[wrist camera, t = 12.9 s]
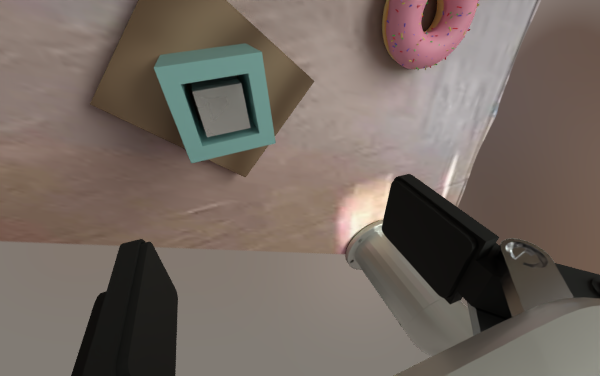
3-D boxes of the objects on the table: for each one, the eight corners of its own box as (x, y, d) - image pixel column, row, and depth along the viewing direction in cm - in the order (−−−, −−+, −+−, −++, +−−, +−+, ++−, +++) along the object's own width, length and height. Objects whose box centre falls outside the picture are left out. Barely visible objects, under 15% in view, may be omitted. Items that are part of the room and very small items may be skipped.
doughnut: (428, -87, 24) (466, -102, 20) (470, 1, 30) (505, 0, 27) (356, 26, 27) (379, 29, 24) (408, 84, 33) (432, 92, 30)
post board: (307, 77, 28) (342, 96, 21) (242, 169, 31) (256, 208, 25) (166, -51, 19) (157, -81, 13) (96, 97, 22) (62, 131, 16)
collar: (245, 43, 22) (261, 51, 17) (259, 119, 26) (275, 143, 22) (160, 54, 20) (153, 67, 16) (189, 134, 25) (191, 163, 20)
